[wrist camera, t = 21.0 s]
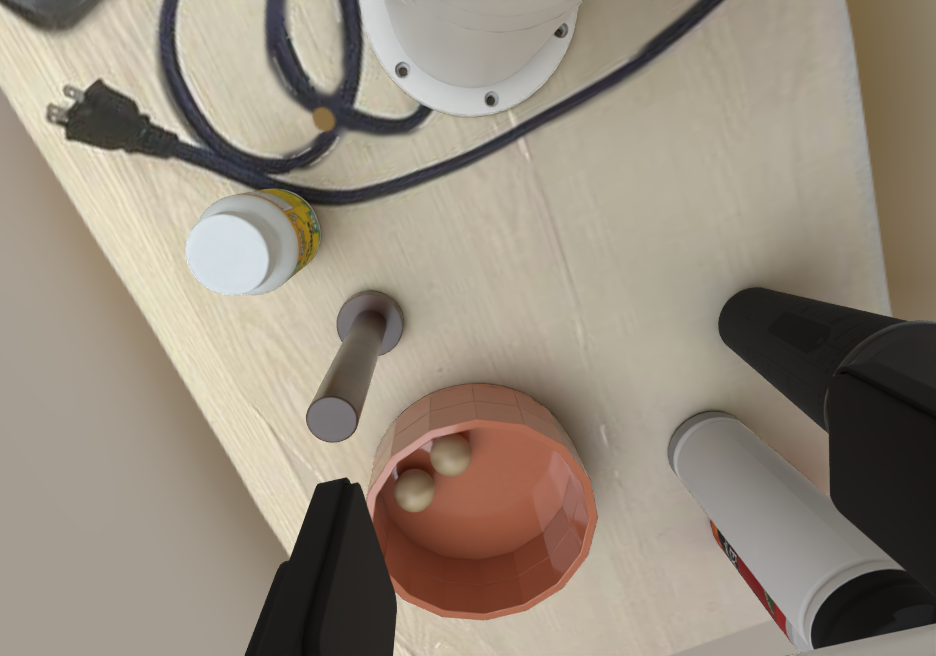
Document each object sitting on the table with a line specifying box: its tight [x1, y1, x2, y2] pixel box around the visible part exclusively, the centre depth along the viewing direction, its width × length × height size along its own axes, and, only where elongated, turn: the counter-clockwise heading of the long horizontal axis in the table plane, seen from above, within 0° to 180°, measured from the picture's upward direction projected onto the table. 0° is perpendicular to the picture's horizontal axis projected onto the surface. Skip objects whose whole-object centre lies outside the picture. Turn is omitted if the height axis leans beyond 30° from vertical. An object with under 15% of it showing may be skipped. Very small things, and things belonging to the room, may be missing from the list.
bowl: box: [366, 384, 598, 620], centre depth 39 cm, size 15×15×6 cm
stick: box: [306, 291, 404, 442], centre depth 30 cm, size 4×4×15 cm
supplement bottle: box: [185, 189, 321, 295], centre depth 31 cm, size 5×5×10 cm
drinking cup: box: [719, 288, 936, 434], centre depth 30 cm, size 8×8×20 cm
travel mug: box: [668, 412, 936, 650], centre depth 32 cm, size 6×7×20 cm
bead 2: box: [430, 433, 473, 477], centre depth 39 cm, size 3×3×3 cm
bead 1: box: [394, 469, 436, 512], centre depth 39 cm, size 3×3×3 cm
